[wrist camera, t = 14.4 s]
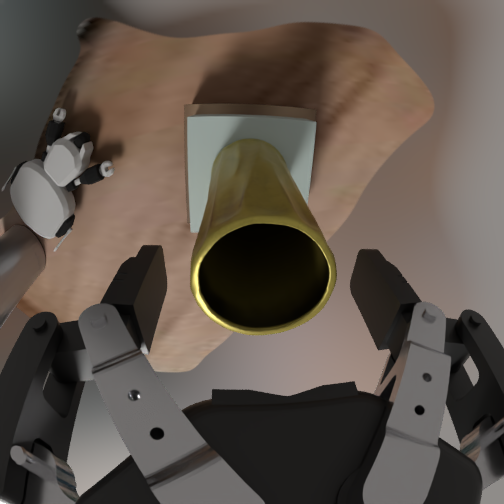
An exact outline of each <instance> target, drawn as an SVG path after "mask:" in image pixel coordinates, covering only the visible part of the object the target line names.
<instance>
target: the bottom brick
mask: <svg viewBox="0 0 504 504" xmlns="http://www.w3.org/2000/svg"><path fill="white" fill-rule="evenodd" d="M200 114H242V115H266V116H281V117H293V118H303V119H308V120H311V121H314V122H315V120H316V110H314V109H307V108H298V107H287V106H275V105H258V104H187V105H184V141H185V180H186V203H187V221H188V223H190V208H189V186H188V146H187V117H189V116H192V115H200Z"/></svg>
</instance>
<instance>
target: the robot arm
mask: <svg viewBox="0 0 504 504" xmlns="http://www.w3.org/2000/svg"><path fill="white" fill-rule="evenodd" d="M45 262H46V261H45V254H44V250H43V248H42V245H41V244H40V242H39V240H38V239H37V237H36V236H35V235H34V234H33V233H32V232H31V231H30V230H29V229H28V228H26V227H24V226H22V225H14V226H12V227H11V228H10V229H9V230H7V231H6V232H5V233H4V234H3V235H2V236H1V237H0V328H1V326H2V325H3V323H4V322H5V321H6V319H7V318H8V316H9V315H10V313H11V312H12V310H13V309H14V308H15V306H16V305H17V303H18V302H19V301H20V299H21V298H22V297H23V295H24V294H25V293H26V291H27V290H28V289H29V287H30V286H31V285H32V284H33V282H34V281H35V280H36V279H37V277H38V276H39V275H40V274H41V272H42V271H43V270H44V268H45ZM350 290H351V294H352V296H353V298H354V300H355V302H356V304H357V306H358V308H359V310H360V312H361V314H362V316H363V319H364V321H365V323H366V325H367V327H368V329H369V331H370V334H371V336H372V338H373V340H374V342H375V345H376V347H377V349H378V350H384V349H390V354H389V355H388V357H387V360H386V363H385V366H384V369H383V371H382V374H381V377H380V379H379V382H378V385H377V387H376V390H375V392H374V394H371V393H367V392H362V391H357V388H356V385H355V382H346V383H338V384H330V385H322V386H319V387H316V388H314V389H311V390H307V391H305V392H301V393H298V394H295V395H292V396H281V395H275V394H269V393H264V392H258V391H253V390H219V389H213V390H212V399H210V400H205V401H202V402H199V403H195V404H193V405H190V406H188V407H186V408H185V409H183V410H181V409H180V408H179V407H178V405H177V404H176V403H175V401H174V400H173V398H172V397H171V395H170V394H169V393H168V391H167V390H166V388H165V387H164V385H163V384H162V382H161V381H160V379H159V378H158V376H157V374H156V373H155V371H154V370H153V368H152V367H151V365H150V363H149V362H148V360H147V358H146V357H145V355H144V354H149V352H150V348H151V344H152V341H153V337H154V333H155V330H156V326H157V323H158V319H159V316H160V312H161V309H162V305H163V302H164V299H165V295H166V291H167V275H166V269H165V262H164V255H163V249H162V246H161V245H143V246H142V247H141V249H140V251H139V252H138V254H137V256H136V257H130V258H129V259H128V260H126V261H125V262H124V263H123V264H122V265H121V266H120V268H119V270H118V271H117V274H116V275H115V277H114V279H113V281H112V282H111V284H110V286H109V288H108V289H107V291H106V293H105V295H104V297H103V299H102V300H101V302H100V304H96V305H93V306H90V307H89V308H87V309H86V310H84V311H83V312H82V314H81V315H80V317H79V320H77V321H71V322H64V323H59V322H58V319H57V317H56V316H55V315H54V314H53V313H51V312H41V313H38V314H36V315H34V316H33V317H32V318H30V319H29V321H28V322H27V323H26V325H25V327H24V329H23V330H22V332H21V334H20V336H19V338H18V339H17V342H16V343H15V345H14V347H13V349H12V351H11V353H10V355H9V358H8V359H7V361H6V364H5V366H4V368H3V370H2V372H1V374H0V504H480V500H481V495H482V490H483V489H485V488H487V487H488V486H490V485H491V484H492V483H494V482H496V481H498V480H499V479H501V478H503V477H504V348H503V347H502V345H501V343H500V342H499V340H498V339H497V337H496V336H495V334H494V332H493V331H492V329H491V328H490V326H489V325H488V324H487V322H486V321H485V319H484V318H483V317H482V316H481V315H480V314H479V313H477V312H475V311H473V310H464V311H463V312H462V313H461V315H460V317H459V319H458V320H456V319H450V318H446V317H445V315H444V313H443V312H442V310H441V309H439V308H438V307H437V306H435V305H433V304H432V303H428V302H422V301H421V300H420V299H419V297H418V296H417V294H416V293H415V292H414V290H413V289H412V287H411V286H410V285H409V283H407V281H406V279H405V278H404V277H402V274H401V273H400V271H399V270H398V269H397V268H396V267H395V266H394V265H393V264H391V263H390V262H388V261H386V259H385V258H384V257H383V255H382V254H381V253H380V252H379V251H378V250H377V249H361V250H360V251H359V252H358V255H357V259H356V263H355V266H354V270H353V273H352V277H351V281H350ZM469 356H471V358H472V359H473V361H474V363H475V365H476V367H477V369H478V371H479V379H478V382H477V384H476V385H475V386H474V387H473V384H472V382H471V381H470V378H469V376H468V374H467V372H466V370H465V368H464V366H463V364H464V363H465V362H466V360H467V359H468V358H469ZM48 371H49V372H50V374H49V377H48V379H47V382H46V384H45V387H44V390H43V385H44V382H45V379H46V377H47V374H48ZM88 380H95V382H96V384H97V387H98V389H99V392H100V394H101V396H102V399H103V401H104V403H105V405H106V407H107V409H108V412H109V414H110V416H111V418H112V420H113V422H114V424H115V426H116V428H117V430H118V432H119V434H120V436H121V438H122V440H123V441H124V443H125V445H126V447H127V449H128V450H129V452H130V454H131V455H130V456H129V457H127V458H126V459H125V460H124V461H123V462H122V463H120V464H119V465H118V466H117V467H116V468H115V469H113V470H112V471H111V472H110V473H108V474H107V475H106V476H105V477H104V478H102V479H101V480H100V481H99V482H97V483H96V484H95V485H94V486H92V487H91V488H90V489H88V490H87V491H86V492H85V493H83V494H82V495H81V496H80V497H79V495H78V493H77V491H76V482H75V476H74V473H73V471H72V469H71V467H70V466H69V465H68V464H67V457H68V451H69V446H70V441H71V437H72V432H73V427H74V422H75V419H76V414H77V410H78V406H79V403H80V398H81V395H82V391H83V388H84V384H85V381H88ZM445 404H446V405H447V408H448V410H449V413H450V416H451V418H452V421H453V424H454V427H455V430H456V433H457V435H458V439H459V441H460V450H457V449H456V448H454V447H453V446H451V445H450V444H448V443H447V442H445V441H444V440H442V439H441V438H439V434H440V429H441V425H442V420H443V414H444V410H445Z"/></svg>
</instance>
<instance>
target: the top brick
mask: <svg viewBox="0 0 504 504" xmlns="http://www.w3.org/2000/svg"><path fill="white" fill-rule="evenodd" d="M315 133H316V122H314V121H311V120H308V119H303V118H293V117H281V116H266V115H242V114H200V115H192V116H189V117H187V146H188V186H189V208H190V226H191V232H199V228H200V225H201V222H202V218H203V215H204V211H205V207H206V203H207V199H208V192H209V185H210V180H211V171H212V166H213V163H214V160H215V159H216V157H217V155H218V154H219V153H220V151H221V150H222V149H223V148H225V147H226V146H228V145H230V144H231V143H233V142H235V141H238V140H241V139H259V140H263V141H265V142H267V143H269V144H271V145H272V146H274V147H275V148H276V149H277V150H278V151H279V152H280V154H281V155H282V156H283V158H284V160H285V162H286V164H287V168H288V170H289V171H290V173H291V176H292V178H293V180H294V181H295V183H296V185H297V187H298V188H299V190H300V192H301V194H302V196H303V198H304V200H305V202H306V204H308V196H309V188H310V180H311V171H312V162H313V153H314V143H315Z"/></svg>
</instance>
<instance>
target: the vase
mask: <svg viewBox="0 0 504 504" xmlns="http://www.w3.org/2000/svg"><path fill="white" fill-rule="evenodd" d="M336 272H337V271H336V263H335V258H334V255H333V253H332V251H331V249H330V248H329V246H328V245H327V243H326V240H325V238H324V236H323V233H322V231H321V230H320V228H319V226H318V224H317V222H316V220H315V218H314V216H313V215H312V213H311V211H310V209H309V207H308V206H307V204H306V202H305V200H304V198H303V196H302V194H301V192H300V190H299V188H298V187H297V185H296V183H295V181H294V180H293V178H292V176H291V173H290V171H289V170H288V168H287V164H286V162H285V160H284V158H283V156H282V155H281V154H280V152H279V151H278V150H277V149H276V148H275V147H274V146H272V145H271V144H269V143H267V142H265V141H263V140H259V139H241V140H238V141H235V142H233V143H231V144H230V145H228V146H226V147H225V148H223V149H222V150H221V151H220V153H219V154H218V155H217V157H216V159H215V160H214V163H213V166H212V171H211V180H210V185H209V192H208V199H207V203H206V207H205V211H204V215H203V218H202V222H201V225H200V228H199V232H198V236H197V239H196V243H195V246H194V249H193V253H192V257H191V275H190V287H191V291H192V294H193V296H194V298H195V300H196V302H197V304H198V306H199V307H200V308H201V309H202V311H203V312H204V313H205V314H206V315H207V316H208V317H209V318H210V319H211V320H213V321H214V322H216V323H217V324H219V325H220V326H222V327H224V328H226V329H229V330H231V331H234V332H238V333H242V334H247V335H267V334H275V333H281V332H284V331H287V330H290V329H293V328H295V327H297V326H300V325H302V324H304V323H305V322H307V321H309V320H310V319H312V318H313V317H314V316H315V315H316V314H317V313H319V312H320V311H321V310H322V308H323V307H324V306H325V304H326V303H327V301H328V300H329V298H330V296H331V294H332V291H333V289H334V286H335V283H336V277H337V273H336Z"/></svg>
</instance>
